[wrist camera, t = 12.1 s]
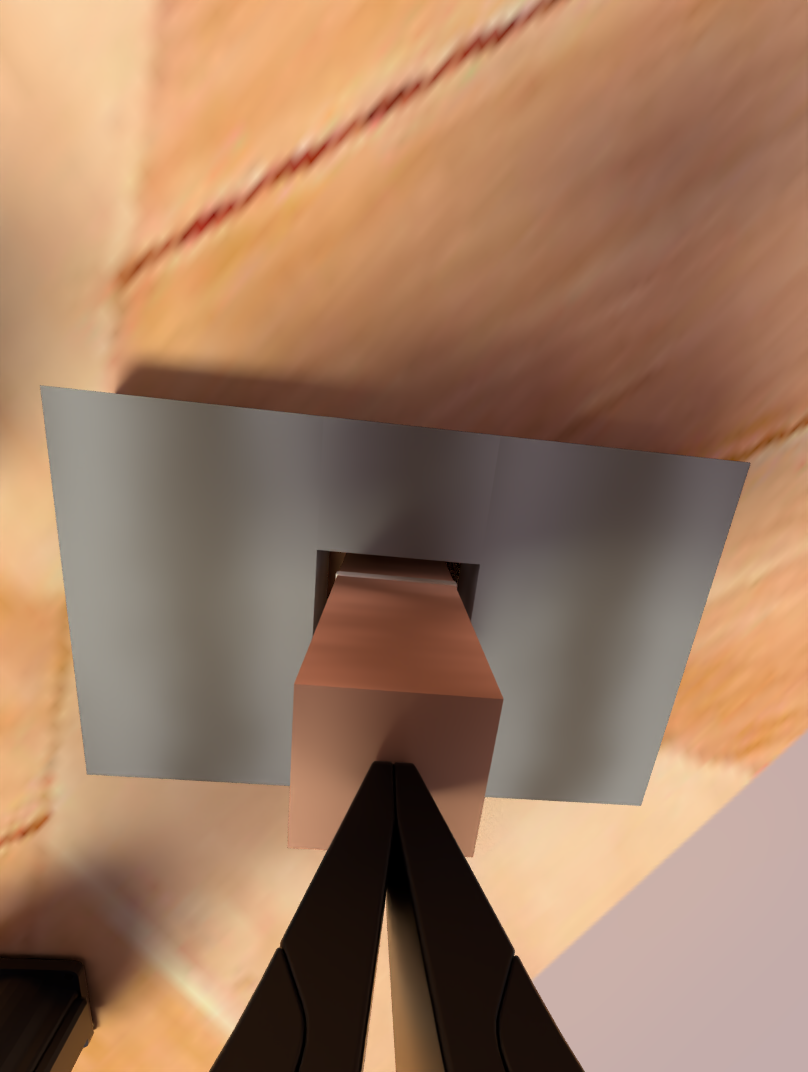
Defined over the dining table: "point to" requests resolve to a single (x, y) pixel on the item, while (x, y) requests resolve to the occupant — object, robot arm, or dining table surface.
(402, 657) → the peg
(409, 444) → the board
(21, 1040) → the robot arm
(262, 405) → the dining table surface
